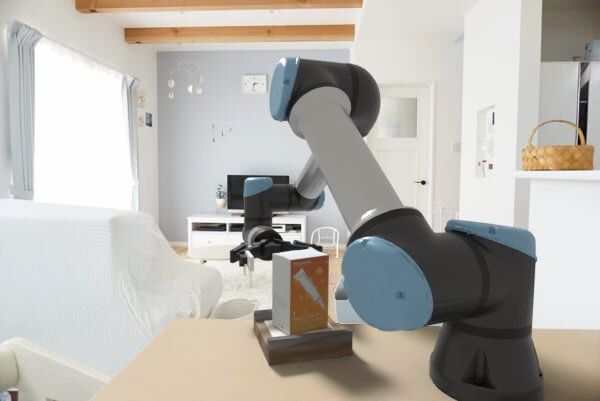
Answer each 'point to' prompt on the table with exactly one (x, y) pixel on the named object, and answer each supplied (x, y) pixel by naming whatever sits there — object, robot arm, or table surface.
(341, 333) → the tray
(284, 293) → the small box
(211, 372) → the table surface
